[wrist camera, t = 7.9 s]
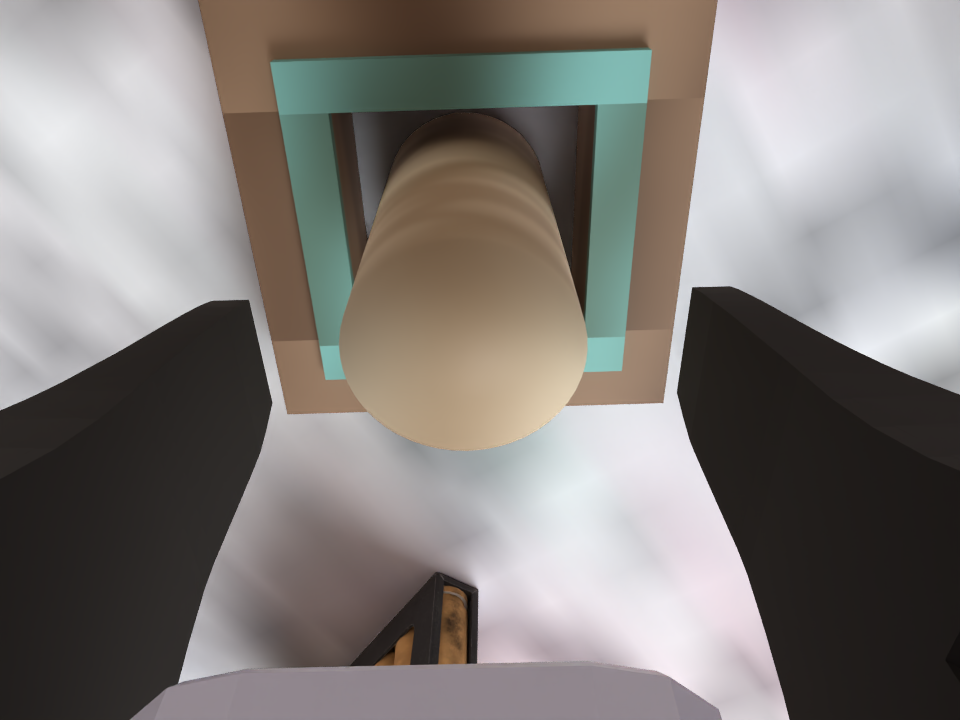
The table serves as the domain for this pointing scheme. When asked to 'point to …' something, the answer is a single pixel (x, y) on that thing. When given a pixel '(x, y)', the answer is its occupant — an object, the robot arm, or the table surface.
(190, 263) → the table surface
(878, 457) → the robot arm
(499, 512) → the table surface
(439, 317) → the peg
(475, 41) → the rail
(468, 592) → the ammunition clip
